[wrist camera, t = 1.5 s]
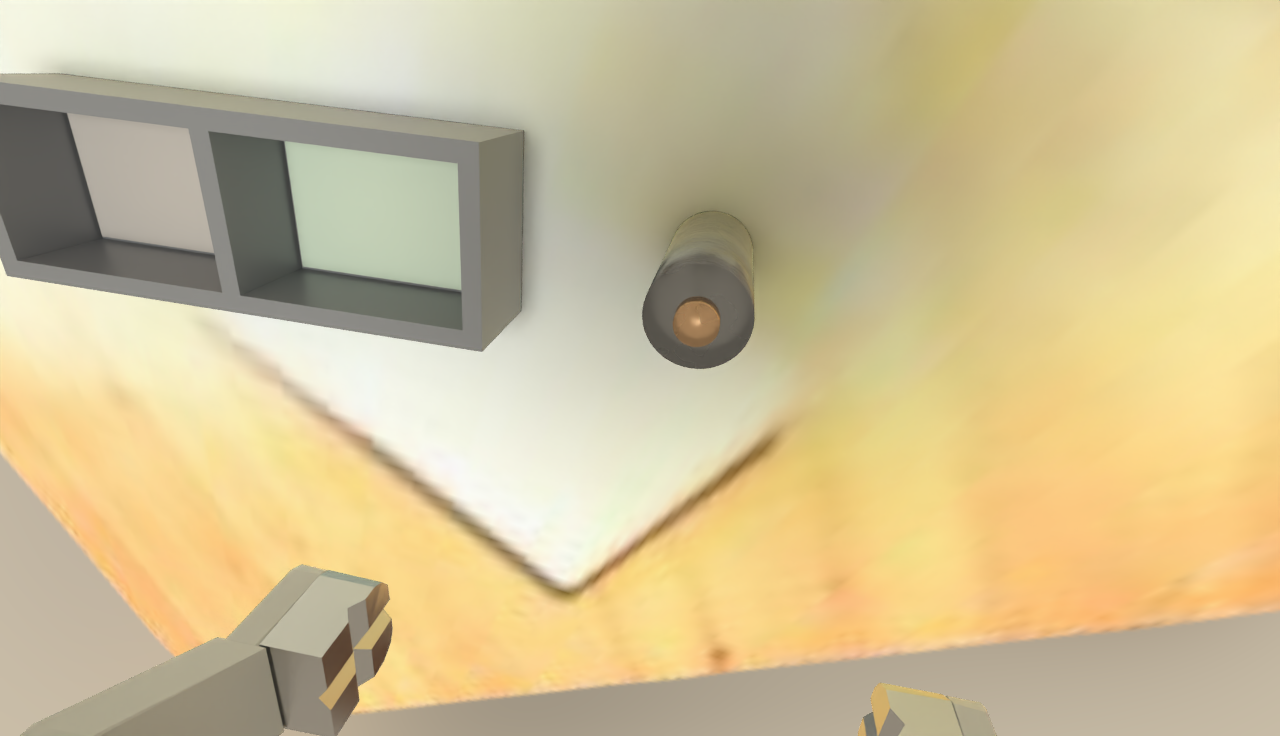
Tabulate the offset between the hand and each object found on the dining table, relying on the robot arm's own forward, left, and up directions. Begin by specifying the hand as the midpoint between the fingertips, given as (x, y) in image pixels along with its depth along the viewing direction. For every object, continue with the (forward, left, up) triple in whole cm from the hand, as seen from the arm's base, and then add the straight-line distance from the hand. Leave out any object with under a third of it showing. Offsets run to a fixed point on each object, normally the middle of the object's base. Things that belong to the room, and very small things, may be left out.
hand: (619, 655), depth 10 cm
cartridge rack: (0, -24, -26) cm, 35 cm away
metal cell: (0, 0, -26) cm, 26 cm away
